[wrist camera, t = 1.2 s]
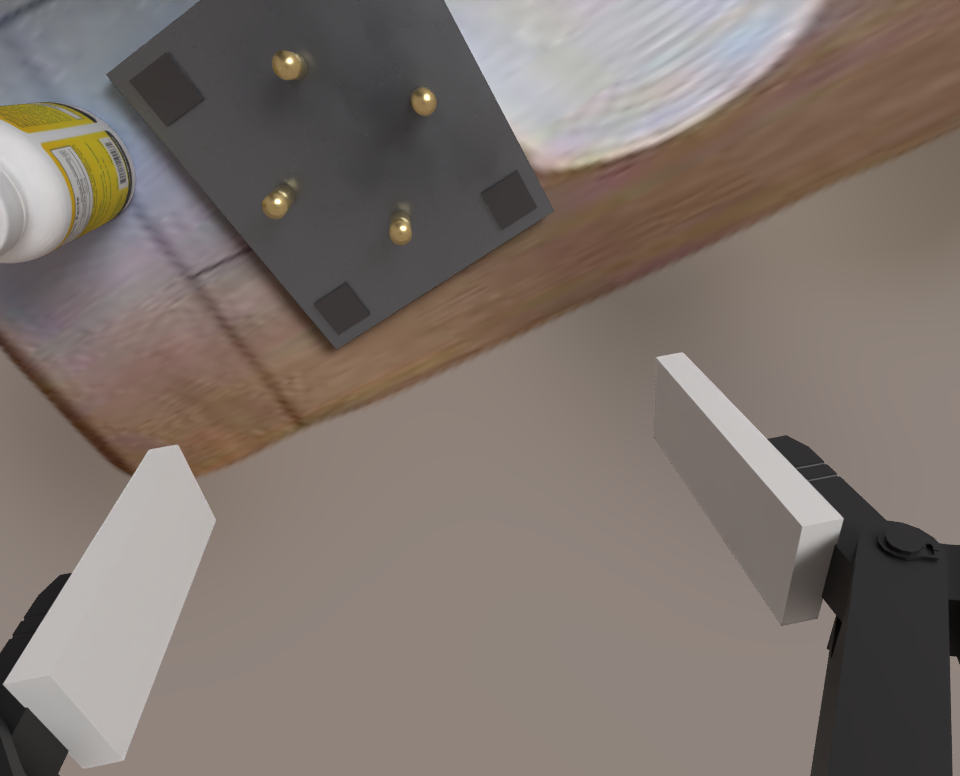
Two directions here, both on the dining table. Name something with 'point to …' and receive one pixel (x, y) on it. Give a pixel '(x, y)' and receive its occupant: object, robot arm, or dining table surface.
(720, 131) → the dining table surface
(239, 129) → the plate
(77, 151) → the pill bottle
